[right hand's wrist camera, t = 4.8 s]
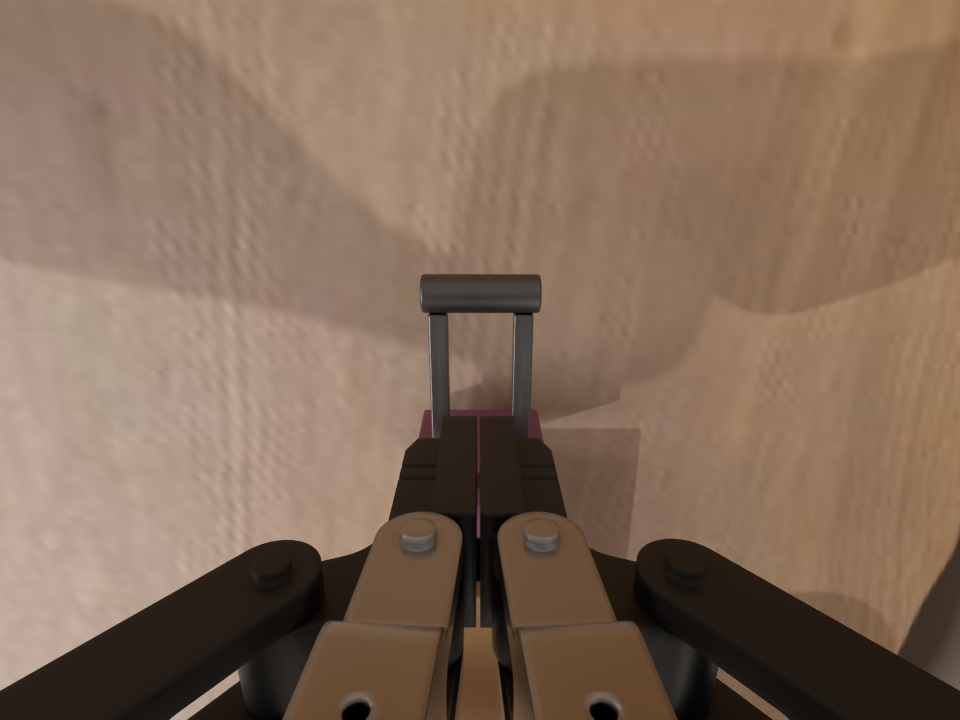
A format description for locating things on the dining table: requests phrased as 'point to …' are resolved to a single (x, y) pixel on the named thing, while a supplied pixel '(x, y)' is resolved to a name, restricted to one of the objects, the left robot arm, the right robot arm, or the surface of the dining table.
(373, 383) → the dining table surface
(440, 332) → the drawer
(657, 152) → the dining table surface
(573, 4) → the dining table surface
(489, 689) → the cabinet
